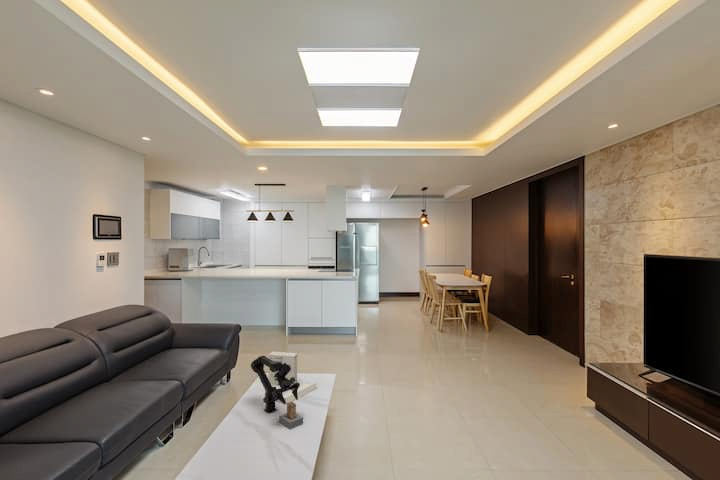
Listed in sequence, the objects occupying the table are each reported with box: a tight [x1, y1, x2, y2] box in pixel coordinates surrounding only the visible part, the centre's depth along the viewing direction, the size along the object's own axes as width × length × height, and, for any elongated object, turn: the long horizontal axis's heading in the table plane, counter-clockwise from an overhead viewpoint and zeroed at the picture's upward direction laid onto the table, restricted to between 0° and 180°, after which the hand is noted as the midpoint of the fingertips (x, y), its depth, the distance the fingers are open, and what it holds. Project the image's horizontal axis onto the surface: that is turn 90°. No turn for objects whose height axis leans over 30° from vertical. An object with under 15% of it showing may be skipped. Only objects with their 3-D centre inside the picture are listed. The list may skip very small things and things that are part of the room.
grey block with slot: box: [278, 412, 304, 430], centre depth 225 cm, size 12×10×4 cm
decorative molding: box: [277, 382, 318, 406], centre depth 268 cm, size 34×5×10 cm
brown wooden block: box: [286, 401, 297, 420], centre depth 225 cm, size 5×4×12 cm
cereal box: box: [268, 351, 298, 386], centre depth 287 cm, size 22×8×25 cm, turn 81°
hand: (291, 401), depth 225 cm, fingers open, 9 cm apart
